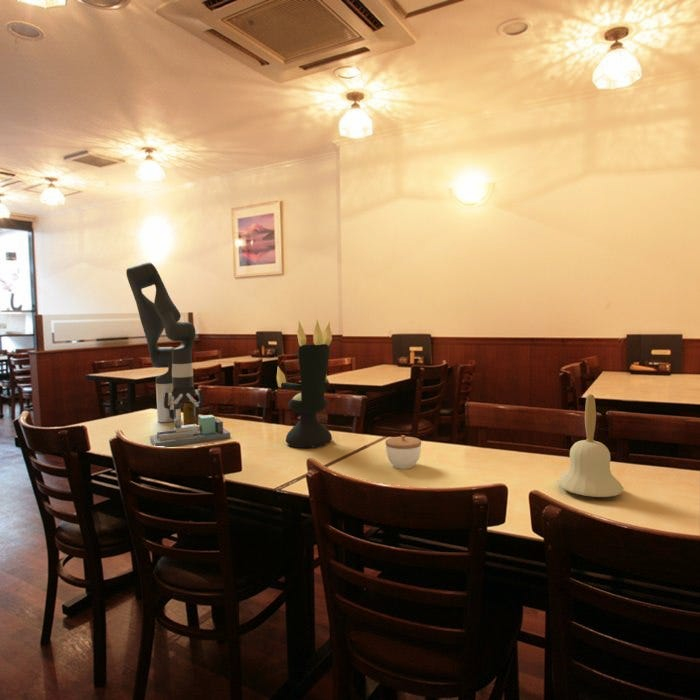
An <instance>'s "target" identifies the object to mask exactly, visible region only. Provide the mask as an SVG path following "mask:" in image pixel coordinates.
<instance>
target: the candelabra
mask: <svg viewBox="0 0 700 700" xmlns="http://www.w3.org/2000/svg"><path fill="white" fill-rule="evenodd" d="M296 330H297V331H296V333H297V340H298V345H299V346H298V348H297V358H298V359H297V360H298V365H299V367H298V369H299V376H300V384H299V383H293V382H287V379H286V376H285V375H286V374H284V372H283V371H282V370H281V368H280V367H279V366H277V372H276V383H277V387H278V388H283V389H286V390H293V391H300V392H299V393H297V394H295V395H294V396H293V397H292V398H291V399H290V400H289V402H288V408H289V410H290V411H291V412H293V413H296V414H297V413H298V414H299V415H300V416H299V421H298V422H297V423H296V424H295V425H294V426H293V427H292V428H291V429H289V431H288V432H287V434H286V437H285V442H286V444H287V445H289V446H290V447H293V448H298V449H299V448H303V449H304V448H305V449H308V448H319V447H323V446H326V445H328V444H330V442H331V441H332V440H333V436H332V433H331V431H329V429H328V428H327V427H326V426H325V425H323V424H322V423H321V422H320V421H319V420H318V418H317V413H320V412H322V411H324V410H326V409H327V406H328V401H327V399H326V398H325V391H326V389H325V388H329V387H330V382H329V380H328V375H327V373H328V367H329V359H330V349H331V348H330V344H331V342H332V341H333V335H332V330H331V322H330V321H328V322H327V323H326V325H325V326H324V329H323V330H321V328H320V325H319V321H318V319H316V320H315V324H314V327H313V329H312V330H313V333H312V334H313V335H312V338H313V343H312V344H307V337H306V336H307V335H306V333H305V331H304V329H303V326H302V324H301V322H300V321H298V322H297V329H296Z"/></svg>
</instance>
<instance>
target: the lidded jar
mask: <svg viewBox="0 0 700 700" xmlns="http://www.w3.org/2000/svg"><path fill="white" fill-rule="evenodd" d="M421 445H422V441H421V439H420V438H417V437H413V436H406V435H404V434H402V435H400V436H394V437H393V436H392V437H390V438H389V437H388V438H387V439H386V440H385V448H386V449H385V452H386V456H387V458H388V460H389V462H390V463H391V464H392V465H393V467H394V468H397V469H402V470H406V469H408V470H409V469H411V468H414V466H415V465H416V464H417V463H418V461H419V460H420V457H421V450H422V447H421Z"/></svg>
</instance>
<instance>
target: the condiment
mask: <svg viewBox="0 0 700 700" xmlns="http://www.w3.org/2000/svg"><path fill="white" fill-rule="evenodd" d="M195 401H196V402H197V403H198V400H197V399H195ZM194 407H195V405H194V404H193V403H192V402H191V401H189V402H183V406H182V413H183V414H182V416H183V419H182V420H183V425H191V424H196V425H197V426H199V416H200V414H199V415H197V417H195V416H194Z"/></svg>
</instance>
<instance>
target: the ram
mask: <svg viewBox="0 0 700 700" xmlns="http://www.w3.org/2000/svg"><path fill="white" fill-rule="evenodd" d="M176 402H177V401H176ZM181 408H183V402H182V403H181V402H180V401H179V402H178V403H177V404H174V421H173V422H174V426H173V430H174V433H179V432H186V431H193V434H198V431H201V426H197V425H196V424H191V425H184V424H183V425H182V412H181V411H182V409H181Z"/></svg>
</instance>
